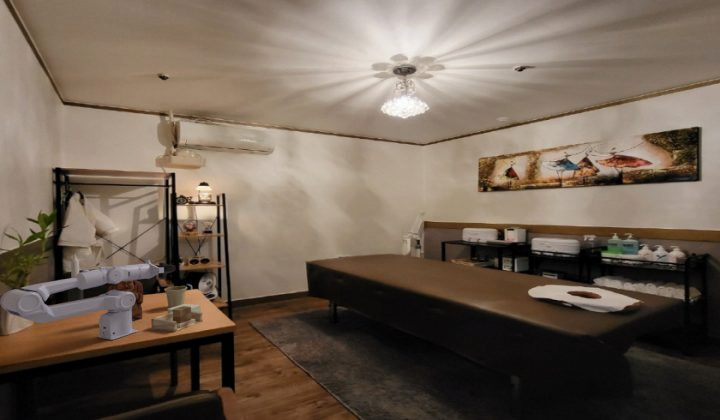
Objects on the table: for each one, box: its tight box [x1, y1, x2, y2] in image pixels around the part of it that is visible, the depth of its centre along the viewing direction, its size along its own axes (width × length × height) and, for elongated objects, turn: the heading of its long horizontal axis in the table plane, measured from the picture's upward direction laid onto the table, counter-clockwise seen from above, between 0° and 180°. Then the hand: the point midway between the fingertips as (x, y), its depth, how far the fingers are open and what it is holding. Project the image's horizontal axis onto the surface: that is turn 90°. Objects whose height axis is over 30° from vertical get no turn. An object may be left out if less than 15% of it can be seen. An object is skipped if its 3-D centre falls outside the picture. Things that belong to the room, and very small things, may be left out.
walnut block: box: [173, 306, 191, 324], centre depth 142 cm, size 5×4×5 cm
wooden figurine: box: [107, 280, 144, 322], centre depth 150 cm, size 12×6×18 cm, turn 140°
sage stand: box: [167, 303, 202, 314], centre depth 157 cm, size 9×9×3 cm
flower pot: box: [163, 285, 188, 309], centre depth 169 cm, size 9×9×9 cm
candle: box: [67, 253, 85, 302], centre depth 172 cm, size 5×5×25 cm
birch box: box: [150, 311, 203, 333], centre depth 143 cm, size 13×12×4 cm
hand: (168, 268), depth 151 cm, fingers open, 7 cm apart
